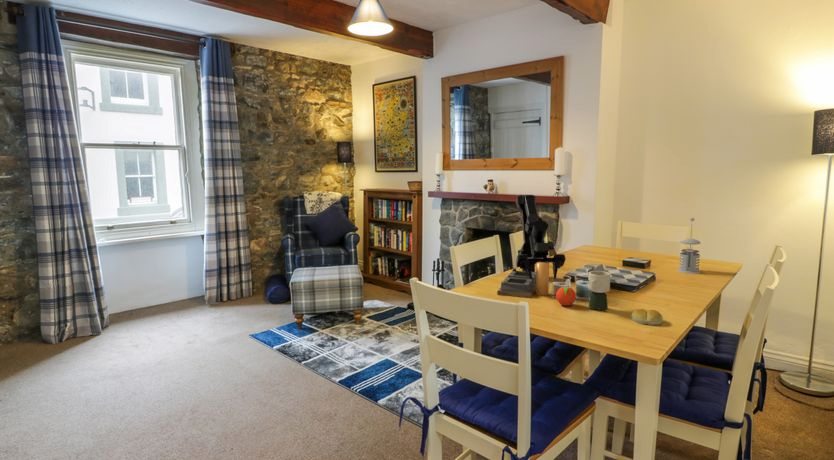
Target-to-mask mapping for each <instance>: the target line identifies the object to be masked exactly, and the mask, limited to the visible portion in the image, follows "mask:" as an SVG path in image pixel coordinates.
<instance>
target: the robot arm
mask: <svg viewBox="0 0 834 460" xmlns="http://www.w3.org/2000/svg"><path fill="white" fill-rule="evenodd" d="M536 197H537V196H536V195H534V194H518V196H516V198H515V204H516V207H517V210H518V211H519V213H520V214H521V223H522V224H521V226H522V227H521V228H522V235H523V236H522V237H523V244H522V245H521V248H520V251H519V253H518V254H517V256H516V259H515V266H516V267H517V268H519V269H520V270H521V271H525V272H526V273H527V275H528V276H529V278H530V279H532V273H531V272H536V263H537V262H548V263H549V264H551V263H552V273H553V275H552V276H553V278H554V280H556V279H557V275H558V274H557V273H558V269H560V268H562V267H564V265H565V262H566V260H567V259H566V255H565V254H564V253H554V255H553V257H548V256H549V254H550V253H549V252H550V251H553V250H554V248H555V245H554V241H547V242H546V241H545V238H546V237H547V234H548V233H547V232H548V229H549V224H548V222H546V221H545V220H543V218H542V217H541V216H539V214H538V209H537V206H536V204H537V203H536Z"/></svg>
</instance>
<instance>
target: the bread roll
mask: <svg viewBox="0 0 834 460" xmlns="http://www.w3.org/2000/svg"><path fill="white" fill-rule="evenodd" d="M631 319H632V321H634V322H635V323H637V324H641V325H649V326H659V325H662V322H663V315H662V314H661V313H660V311H658V310H655V309H649V310H647V309H645V308H638V309H635V310H634V311H633V312H632V313H631Z"/></svg>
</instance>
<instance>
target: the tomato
mask: <svg viewBox="0 0 834 460" xmlns="http://www.w3.org/2000/svg"><path fill="white" fill-rule="evenodd" d="M555 299H556V301H557V303H559V304H560V305H562V306H564V307H566V306H567V307H569V306H571V305H573V304H574V303H575V301H576V299H577V294H576V291H575V290H574V289H573V288H572V287H570V286H567V285H566V286H562V287H559V289H558V290H557V291H556V294H555Z"/></svg>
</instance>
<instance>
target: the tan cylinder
mask: <svg viewBox="0 0 834 460" xmlns="http://www.w3.org/2000/svg"><path fill="white" fill-rule="evenodd" d="M535 272H536V290H535V294H536V295H537V296H540V297H542V296H543V297H546V296H549V292H550V263H548V262H537V263H536V264H535Z"/></svg>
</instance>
